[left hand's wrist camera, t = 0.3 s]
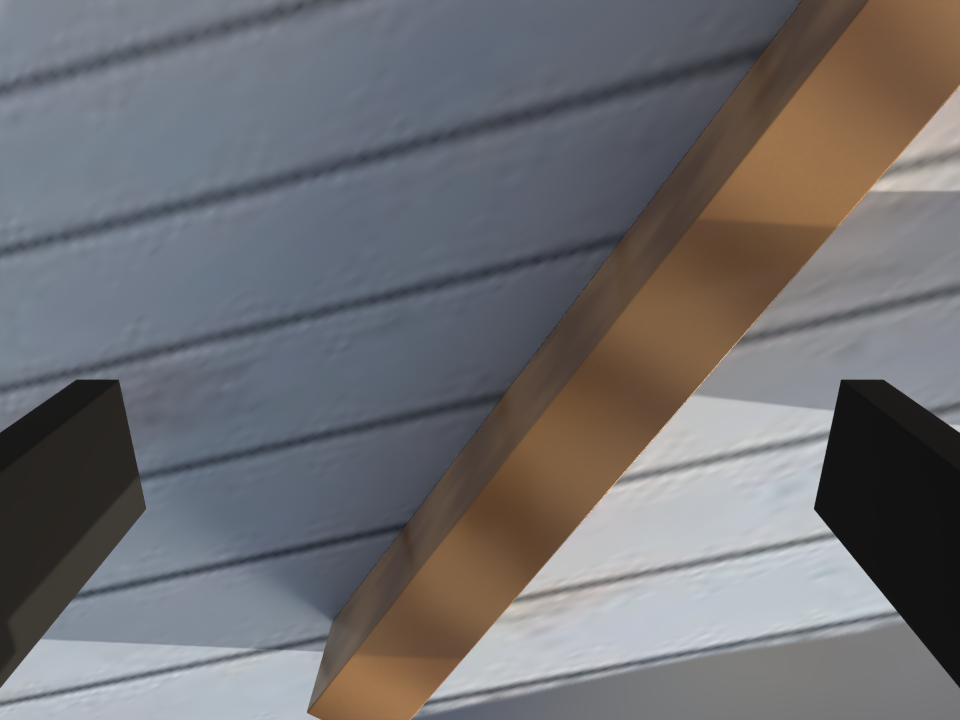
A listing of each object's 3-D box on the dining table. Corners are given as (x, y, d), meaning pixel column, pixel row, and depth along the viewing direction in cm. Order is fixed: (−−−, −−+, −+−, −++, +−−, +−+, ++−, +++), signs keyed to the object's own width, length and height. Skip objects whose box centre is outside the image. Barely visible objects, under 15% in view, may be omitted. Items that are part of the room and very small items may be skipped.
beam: (1228, -565, 27) (1502, -808, 20) (1309, -456, 28) (1597, -649, 21) (332, 622, 49) (306, 713, 41) (398, 656, 50) (384, 750, 43)
